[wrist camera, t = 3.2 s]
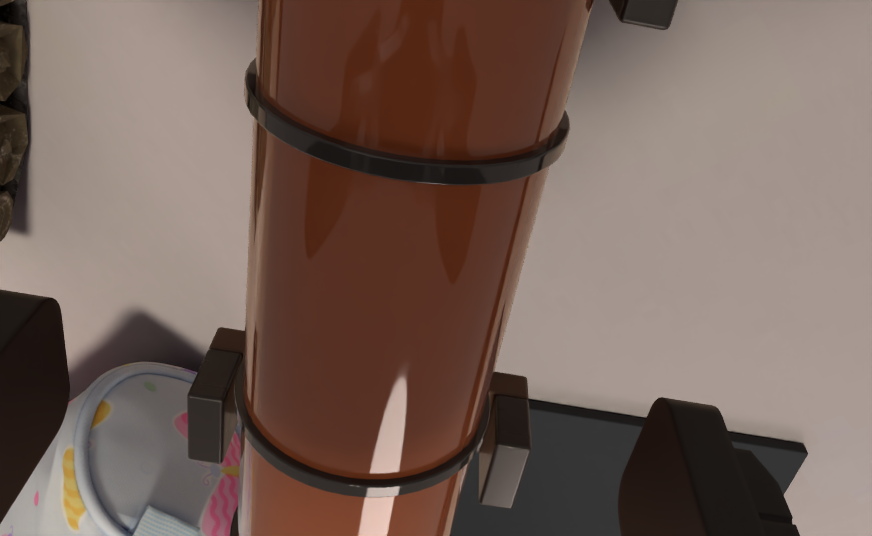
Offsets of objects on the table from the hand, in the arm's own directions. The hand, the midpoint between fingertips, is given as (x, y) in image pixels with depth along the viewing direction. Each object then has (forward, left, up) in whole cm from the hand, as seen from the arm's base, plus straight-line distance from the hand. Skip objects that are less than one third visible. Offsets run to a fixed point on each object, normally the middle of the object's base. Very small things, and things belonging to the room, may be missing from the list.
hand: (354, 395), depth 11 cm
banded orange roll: (0, 0, -6) cm, 6 cm away
